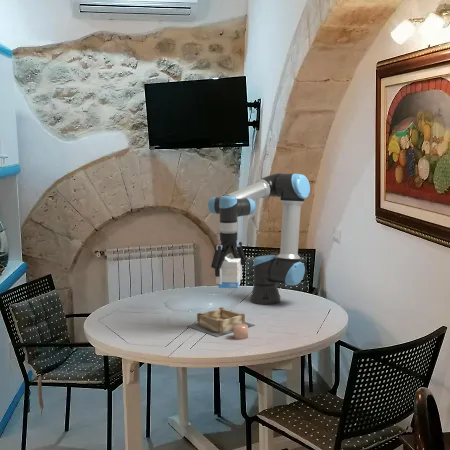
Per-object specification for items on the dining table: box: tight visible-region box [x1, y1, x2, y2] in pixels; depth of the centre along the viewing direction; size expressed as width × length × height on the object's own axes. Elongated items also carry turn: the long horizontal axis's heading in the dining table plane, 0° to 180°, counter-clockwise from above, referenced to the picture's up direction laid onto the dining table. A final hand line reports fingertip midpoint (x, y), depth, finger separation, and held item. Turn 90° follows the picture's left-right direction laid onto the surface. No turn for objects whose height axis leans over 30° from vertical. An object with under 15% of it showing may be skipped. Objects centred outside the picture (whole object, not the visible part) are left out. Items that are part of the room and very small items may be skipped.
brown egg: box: [232, 324, 249, 340], centre depth 252 cm, size 6×6×5 cm
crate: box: [186, 307, 256, 338], centre depth 267 cm, size 22×20×6 cm
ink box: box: [218, 254, 241, 289], centre depth 263 cm, size 9×8×13 cm
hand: (229, 281), depth 264 cm, fingers closed on ink box, 11 cm apart
